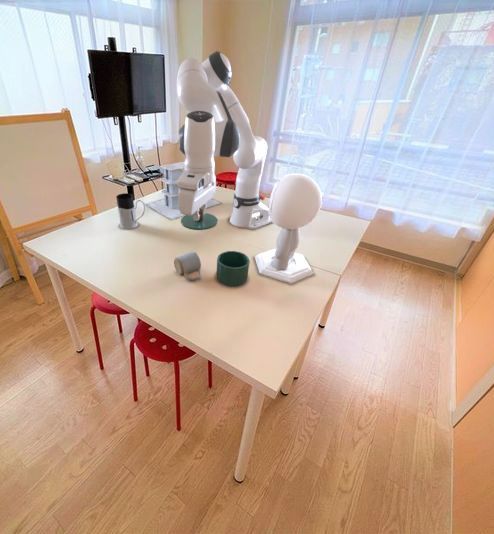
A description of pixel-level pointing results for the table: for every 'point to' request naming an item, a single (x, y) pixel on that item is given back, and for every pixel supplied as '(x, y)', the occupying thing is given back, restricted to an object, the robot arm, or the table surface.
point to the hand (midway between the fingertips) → (199, 217)
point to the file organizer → (172, 192)
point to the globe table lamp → (290, 227)
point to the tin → (232, 268)
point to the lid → (199, 221)
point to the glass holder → (127, 211)
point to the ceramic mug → (188, 264)
